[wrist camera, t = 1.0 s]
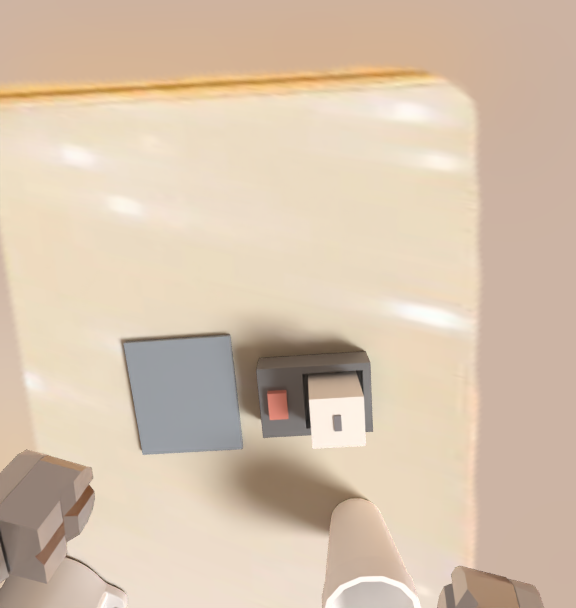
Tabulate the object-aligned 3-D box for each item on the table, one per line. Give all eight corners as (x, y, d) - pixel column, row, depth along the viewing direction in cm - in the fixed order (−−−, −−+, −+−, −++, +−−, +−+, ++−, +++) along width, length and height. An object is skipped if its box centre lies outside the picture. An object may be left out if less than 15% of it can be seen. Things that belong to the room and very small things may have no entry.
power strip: (368, 416, 51) (374, 435, 47) (265, 422, 52) (262, 441, 48) (365, 351, 50) (371, 365, 45) (259, 358, 50) (255, 372, 46)
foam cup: (362, 564, 56) (380, 670, 44) (303, 527, 55) (304, 625, 43) (409, 512, 54) (442, 607, 42) (349, 473, 53) (364, 558, 41)
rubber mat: (243, 446, 53) (242, 449, 52) (144, 451, 53) (142, 454, 53) (230, 334, 50) (229, 336, 49) (125, 341, 50) (123, 343, 50)
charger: (357, 411, 50) (366, 446, 43) (310, 414, 50) (312, 449, 43) (355, 368, 49) (364, 397, 42) (307, 371, 49) (308, 400, 42)
